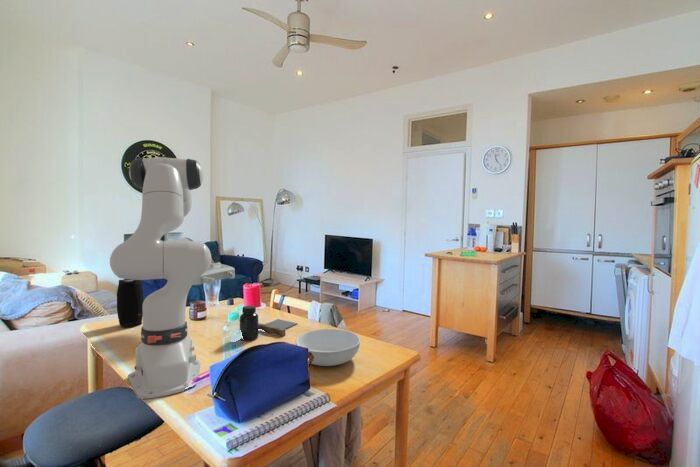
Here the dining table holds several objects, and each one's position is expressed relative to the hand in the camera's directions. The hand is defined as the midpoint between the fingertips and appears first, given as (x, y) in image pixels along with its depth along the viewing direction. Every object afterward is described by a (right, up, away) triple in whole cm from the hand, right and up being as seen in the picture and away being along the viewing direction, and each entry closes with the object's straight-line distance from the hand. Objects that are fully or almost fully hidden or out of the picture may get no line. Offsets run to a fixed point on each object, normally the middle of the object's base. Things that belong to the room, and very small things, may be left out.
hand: (223, 278), depth 135 cm
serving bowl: (+43, -24, -23) cm, 54 cm away
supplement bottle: (+12, -22, -5) cm, 25 cm away
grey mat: (+20, -21, +10) cm, 31 cm away
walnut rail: (+16, -22, +2) cm, 27 cm away
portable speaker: (-42, -21, +8) cm, 48 cm away
